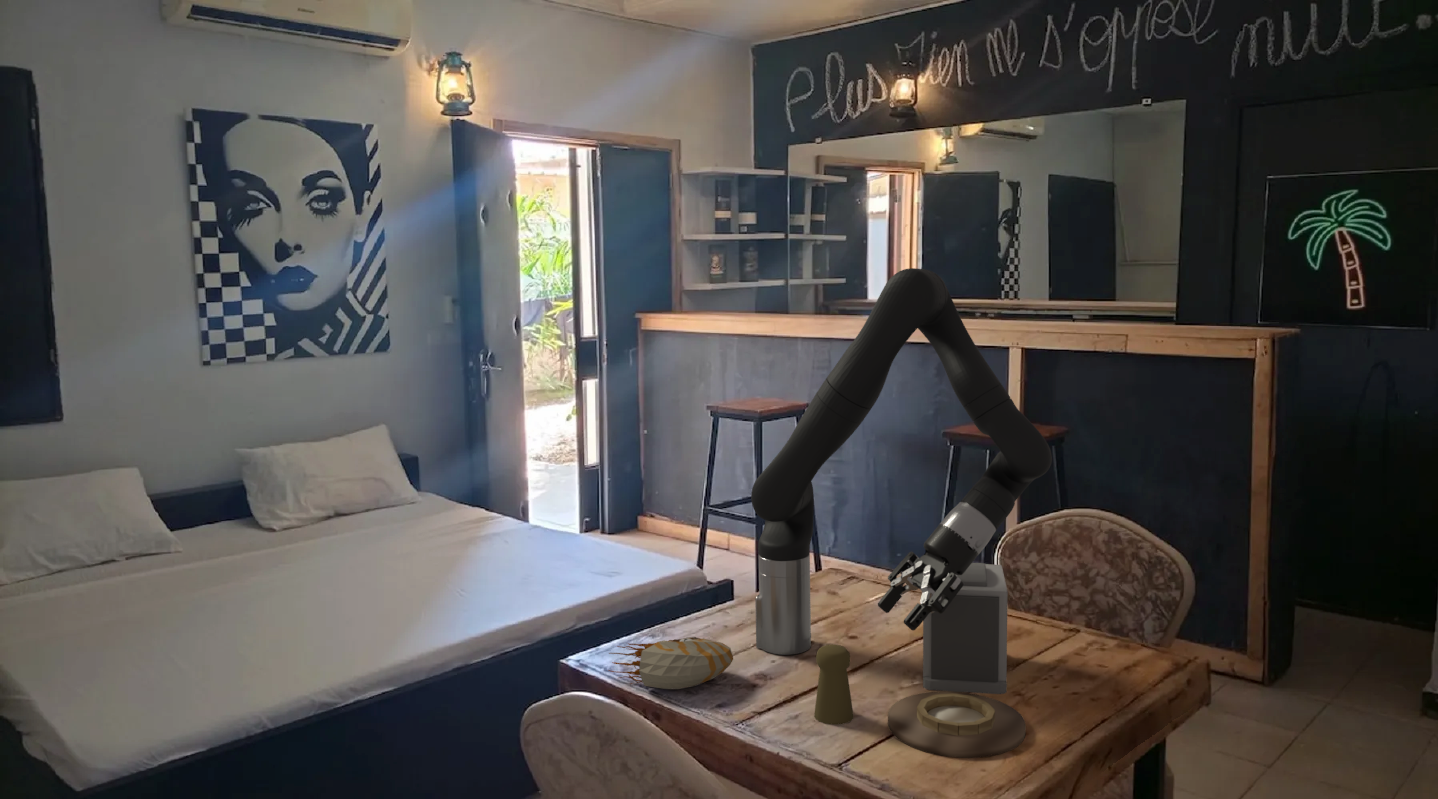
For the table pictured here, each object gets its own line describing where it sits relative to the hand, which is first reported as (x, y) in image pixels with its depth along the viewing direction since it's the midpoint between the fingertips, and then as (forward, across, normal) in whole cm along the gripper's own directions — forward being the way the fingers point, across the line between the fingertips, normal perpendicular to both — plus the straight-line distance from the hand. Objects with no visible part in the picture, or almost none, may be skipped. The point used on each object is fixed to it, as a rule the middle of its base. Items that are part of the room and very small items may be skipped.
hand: (894, 617), depth 160 cm
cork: (+18, 0, +3) cm, 18 cm away
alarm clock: (-2, -8, +23) cm, 24 cm away
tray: (+7, +10, +14) cm, 18 cm away
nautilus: (+32, -22, -11) cm, 40 cm away
